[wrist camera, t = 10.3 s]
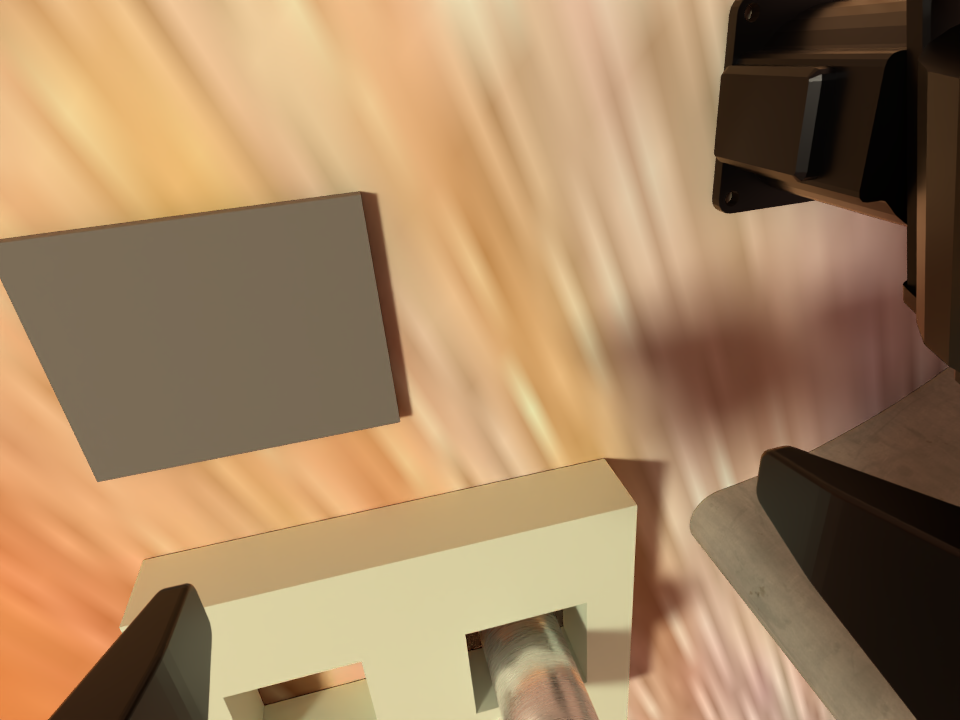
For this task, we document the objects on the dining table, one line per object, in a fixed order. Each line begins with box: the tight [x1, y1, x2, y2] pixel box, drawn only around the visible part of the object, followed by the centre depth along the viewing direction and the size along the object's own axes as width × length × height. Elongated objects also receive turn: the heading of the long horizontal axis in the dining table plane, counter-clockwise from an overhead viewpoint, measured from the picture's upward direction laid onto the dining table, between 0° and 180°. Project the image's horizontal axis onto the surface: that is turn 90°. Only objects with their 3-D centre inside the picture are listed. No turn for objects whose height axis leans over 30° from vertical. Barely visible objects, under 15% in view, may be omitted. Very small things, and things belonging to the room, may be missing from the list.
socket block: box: [119, 459, 637, 720], centre depth 25 cm, size 18×14×3 cm
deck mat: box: [0, 191, 400, 482], centre depth 19 cm, size 10×8×1 cm
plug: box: [478, 611, 599, 720], centre depth 24 cm, size 3×3×8 cm
